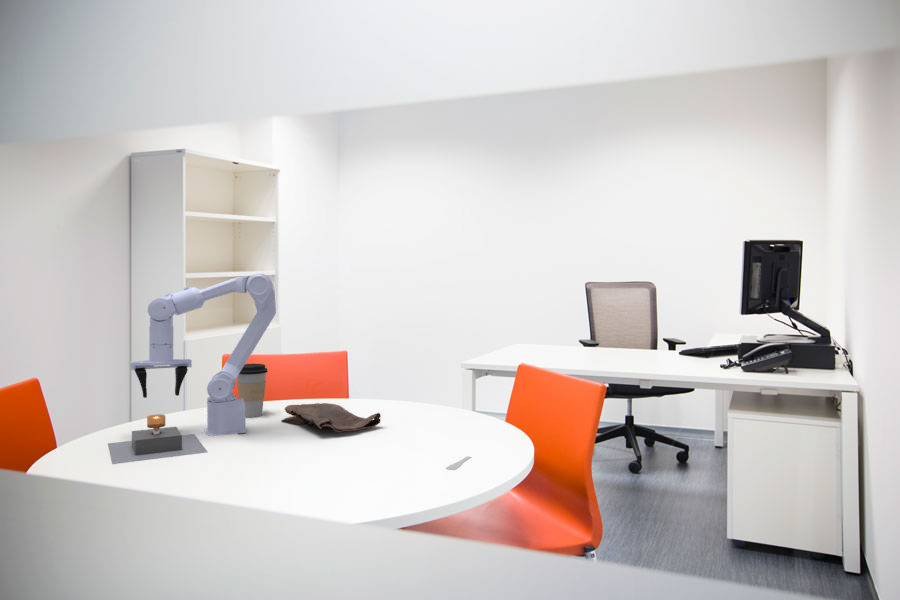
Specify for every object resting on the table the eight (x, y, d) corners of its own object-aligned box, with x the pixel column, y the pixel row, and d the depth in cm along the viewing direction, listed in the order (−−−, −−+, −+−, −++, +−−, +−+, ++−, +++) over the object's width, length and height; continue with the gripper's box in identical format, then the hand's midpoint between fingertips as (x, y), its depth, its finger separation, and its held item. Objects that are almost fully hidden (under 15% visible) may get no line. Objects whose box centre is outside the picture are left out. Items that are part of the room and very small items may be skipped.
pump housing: (176, 440, 164) (176, 426, 164) (182, 449, 155) (181, 435, 155) (131, 445, 159) (131, 431, 159) (135, 455, 150) (135, 440, 150)
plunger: (164, 442, 160) (164, 413, 160) (166, 446, 157) (166, 416, 156) (146, 444, 158) (146, 415, 158) (148, 448, 155) (148, 418, 154)
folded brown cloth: (273, 419, 192) (273, 402, 192) (335, 411, 204) (335, 395, 204) (318, 442, 167) (318, 422, 166) (387, 431, 178) (387, 413, 178)
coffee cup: (258, 419, 190) (258, 368, 190) (228, 417, 192) (228, 367, 192) (273, 412, 200) (273, 363, 199) (245, 411, 202) (244, 362, 201)
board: (194, 435, 171) (194, 433, 171) (207, 454, 154) (207, 452, 154) (107, 445, 161) (107, 443, 161) (112, 466, 144) (112, 464, 144)
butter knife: (442, 468, 143) (454, 470, 142) (483, 443, 165) (494, 444, 164) (442, 470, 143) (454, 472, 142) (483, 444, 165) (494, 446, 164)
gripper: (188, 341, 177) (188, 391, 177) (129, 343, 170) (129, 395, 170) (193, 344, 171) (192, 395, 171) (131, 346, 164) (131, 400, 164)
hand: (161, 396), depth 170 cm, fingers open, 7 cm apart
